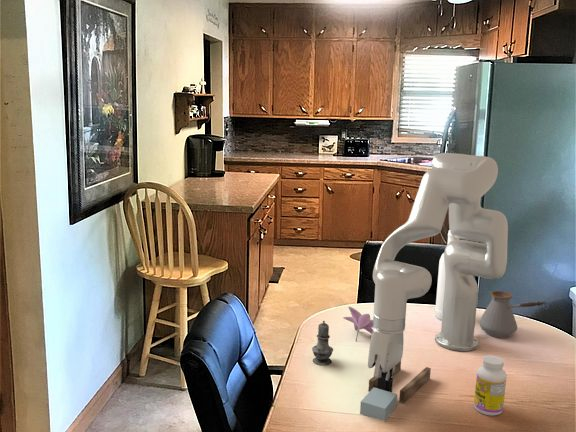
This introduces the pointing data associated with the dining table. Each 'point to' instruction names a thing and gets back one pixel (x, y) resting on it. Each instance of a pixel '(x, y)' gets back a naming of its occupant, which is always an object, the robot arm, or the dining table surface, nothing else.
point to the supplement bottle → (490, 386)
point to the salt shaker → (322, 346)
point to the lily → (360, 321)
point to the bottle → (442, 282)
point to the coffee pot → (501, 315)
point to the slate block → (378, 404)
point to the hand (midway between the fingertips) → (384, 392)
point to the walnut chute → (410, 387)
